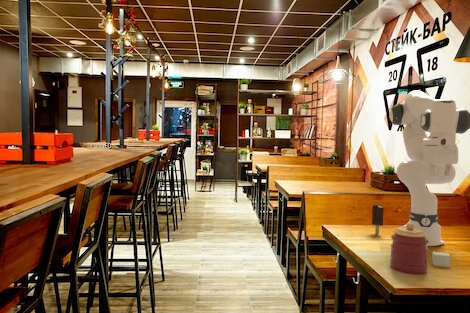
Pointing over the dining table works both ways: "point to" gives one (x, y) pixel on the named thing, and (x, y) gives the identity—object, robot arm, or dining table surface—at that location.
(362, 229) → the dining table surface
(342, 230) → the dining table surface
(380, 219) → the ice cream bar
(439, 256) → the sage block
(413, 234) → the canister
